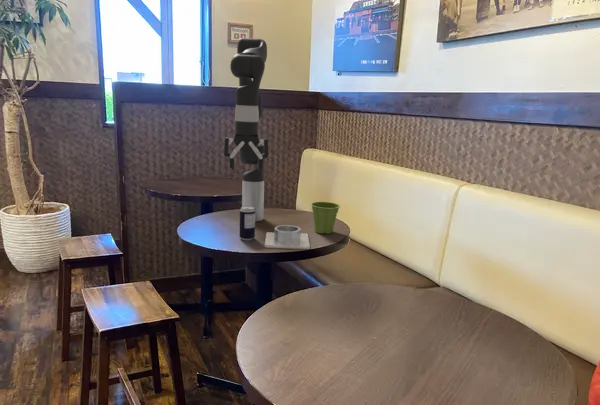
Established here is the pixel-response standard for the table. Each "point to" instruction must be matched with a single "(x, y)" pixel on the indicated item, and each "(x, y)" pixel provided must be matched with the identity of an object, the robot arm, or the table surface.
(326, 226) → the plant pot
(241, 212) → the beverage can
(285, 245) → the metal collar
